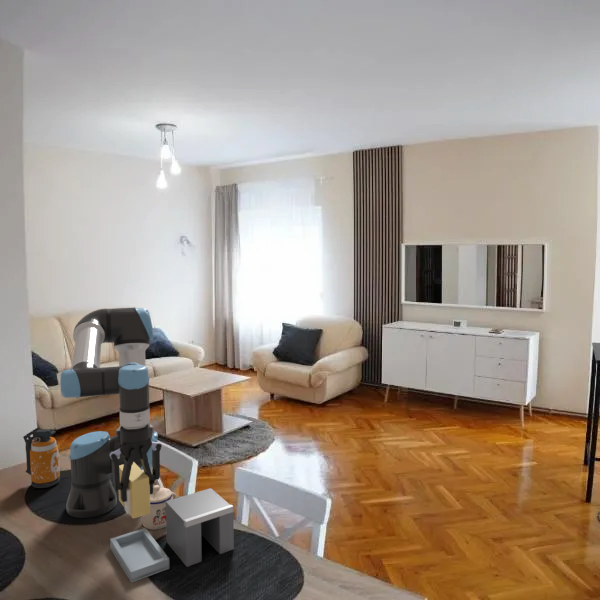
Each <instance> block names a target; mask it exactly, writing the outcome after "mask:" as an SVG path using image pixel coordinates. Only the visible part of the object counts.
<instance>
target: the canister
mask: <svg viewBox="0 0 600 600" xmlns="http://www.w3.org/2000/svg"><path fill="white" fill-rule="evenodd" d="M54 434H56V430H53V428H39V427H36V428H35V429H32V430H31V431H30V432H28V433H26V434H25V435H24V436H22V438H23V440H24V442H25V456H26V457H25V458H26V470H25V472H26V473H27V474H28V475H29V476H30V480H31V481H30V482H31V487H33V488H37V489H46V488H50V487H54V485H57V484H58V483H59V482H60V480H61V476H60V475H61V473H60V472H61V471H60V457H59V456H60V452H59V446H58V445H57V440H56V438H55V437H53V435H54Z"/></svg>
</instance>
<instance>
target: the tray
mask: <svg viewBox="0 0 600 600" xmlns="http://www.w3.org/2000/svg"><path fill="white" fill-rule="evenodd" d="M109 545H110V546H109V547H110V550H111V552H112V553H113V555H114V557H115V558H116V560H117V561H118V563H119V565H120V567H121V569H122V570H123V571H124V573H125V575H126V576H127V578H128V579H129V581H130V583H134V582H137V581H139V580H142V579H146V578H147V577H150V576H153V575H156V574H159V573H161V572H163V571H166V570H169V569H170V557H169V556H168V555H167V554H166V552H165V551H164V550H163V549H162V547H161V546H160V545H159V543H158V542H157V541H156V540H155V538H154V537H153V535H152V534H151V533H150V532H149V531H148V529H147V528H145V527H143V528H140V529H137V530H134V531H130V532H127V533H123V534H122V535H118V536H115V537H111V538H109Z"/></svg>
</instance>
